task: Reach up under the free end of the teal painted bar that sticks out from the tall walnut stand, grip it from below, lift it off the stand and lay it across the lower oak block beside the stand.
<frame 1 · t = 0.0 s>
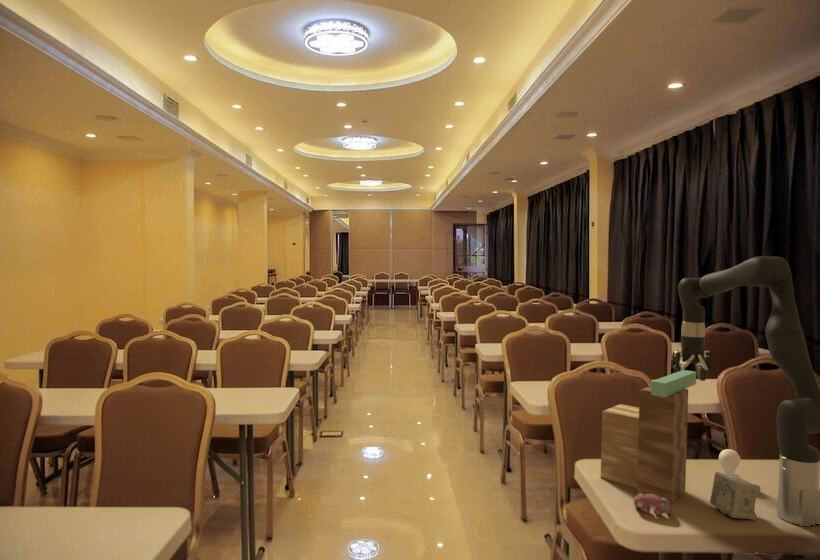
hand: (691, 380, 205), 29 cm above the table, tool pointing down, fingers open, 8 cm apart
pink animal figurine: (652, 514, 164), on the table
grey speckled block: (734, 514, 165), on the table
lightbulb: (728, 484, 187), on the table
oak block: (627, 477, 191), on the table
walnut stand: (661, 493, 178), on the table
bar: (674, 389, 178), point 32 cm above the table, touching walnut stand
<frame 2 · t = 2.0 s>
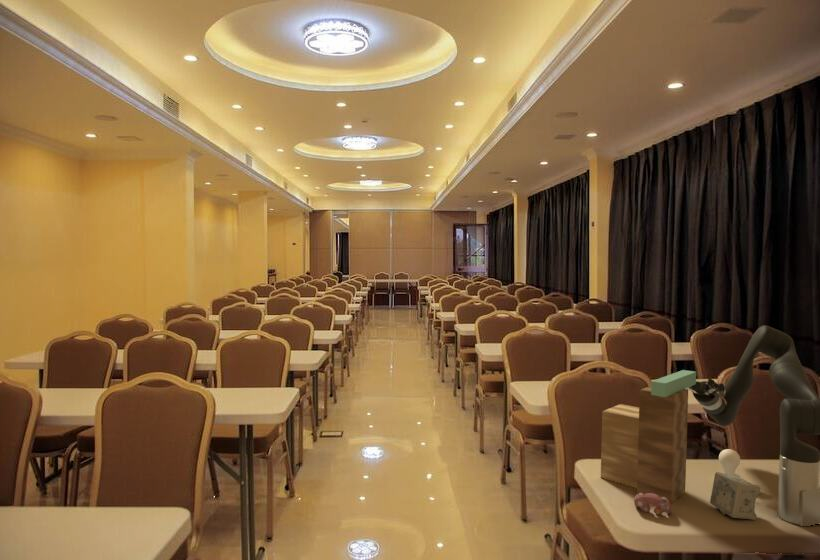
hand: (694, 378, 189), 33 cm above the table, tool pointing upward, fingers open, 8 cm apart
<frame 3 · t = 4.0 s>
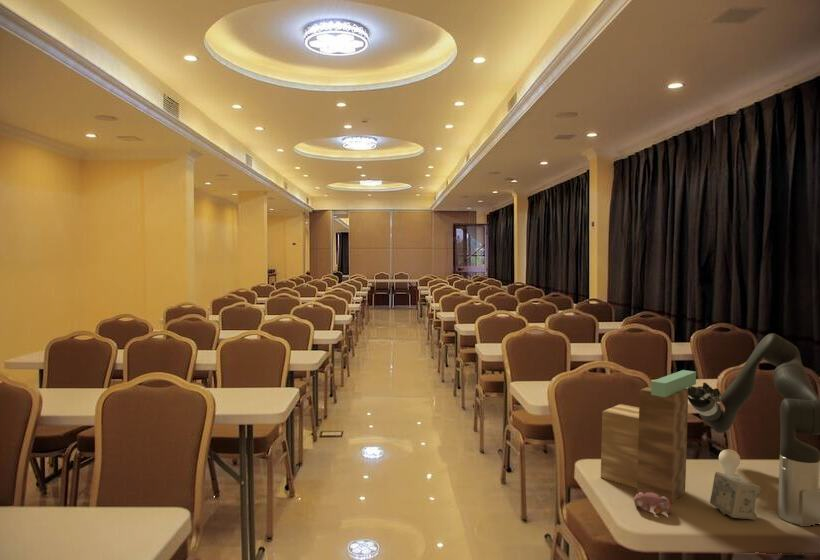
hand: (689, 383, 187), 32 cm above the table, tool pointing upward, fingers open, 8 cm apart
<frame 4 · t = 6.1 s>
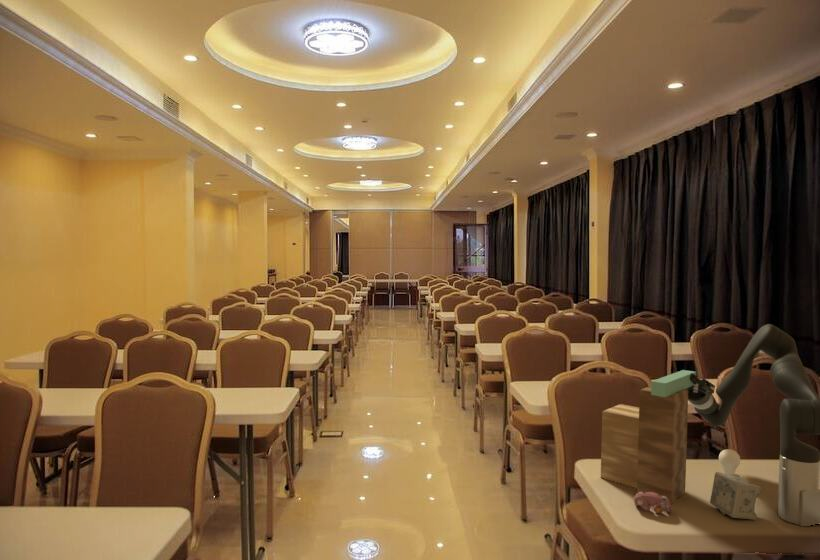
hand: (683, 375, 183), 35 cm above the table, tool pointing upward, fingers closed on bar, 4 cm apart
bar: (674, 389, 178), point 32 cm above the table, touching gripper, walnut stand
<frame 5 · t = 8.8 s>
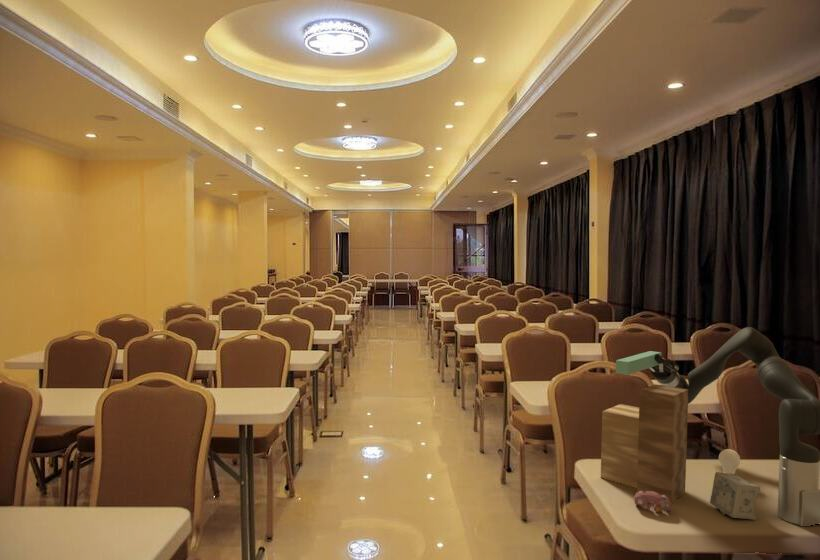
hand: (649, 355, 196), 39 cm above the table, tool pointing upward, fingers closed on bar, 4 cm apart
bar: (639, 368, 191), point 36 cm above the table, touching gripper
when the fingers open (26 cm above the table, at t = 11.9 s): bar stays where it is, resting on oak block.
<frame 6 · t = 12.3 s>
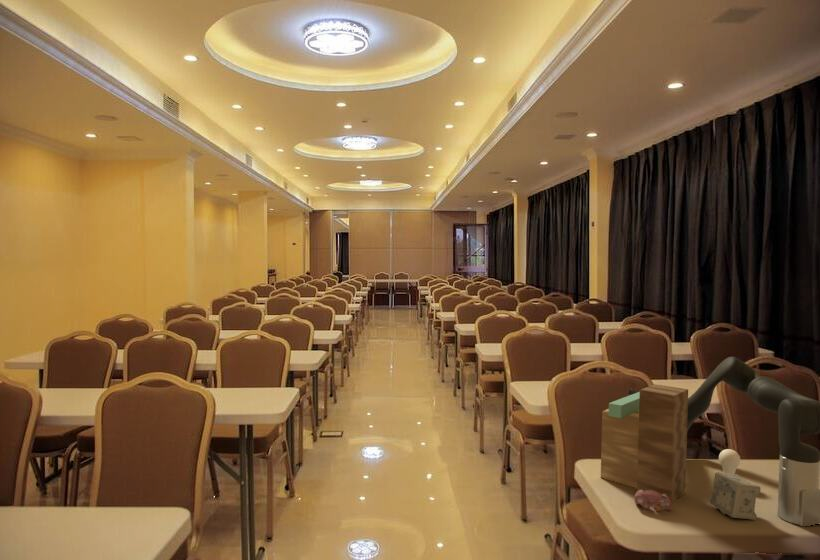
hand: (642, 393, 198), 26 cm above the table, tool pointing upward, fingers open, 7 cm apart
bar: (631, 409, 192), point 22 cm above the table, touching oak block
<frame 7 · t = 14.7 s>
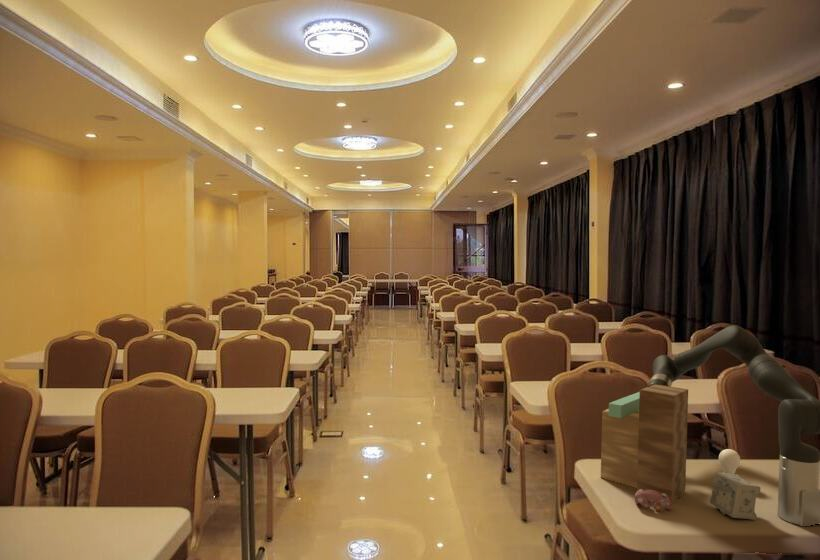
hand: (649, 409, 199), 21 cm above the table, tool tilted 75°, fingers open, 8 cm apart
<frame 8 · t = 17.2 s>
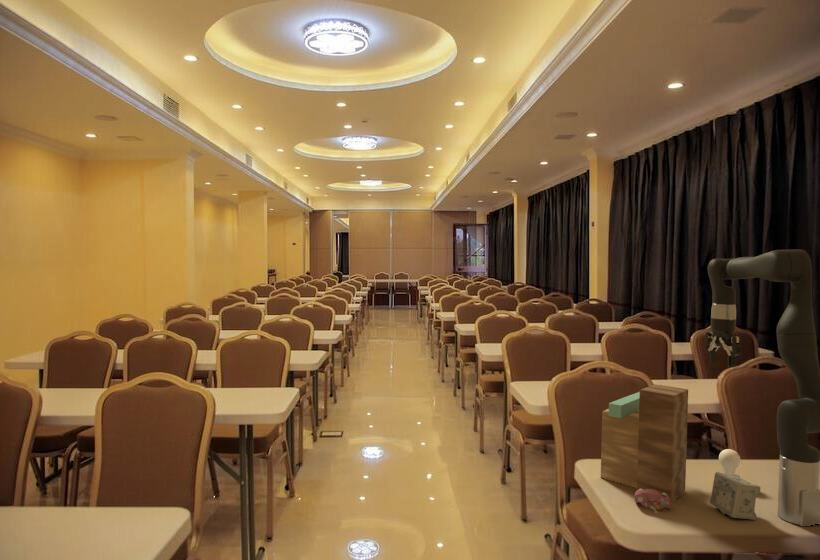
hand: (721, 364, 199), 36 cm above the table, tool pointing down, fingers open, 8 cm apart
at the end: bar inside the target area on the oak block (2.0 cm from its centre), point 22.0 cm above the oak block's base; bar touching oak block; the gripper is holding nothing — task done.
